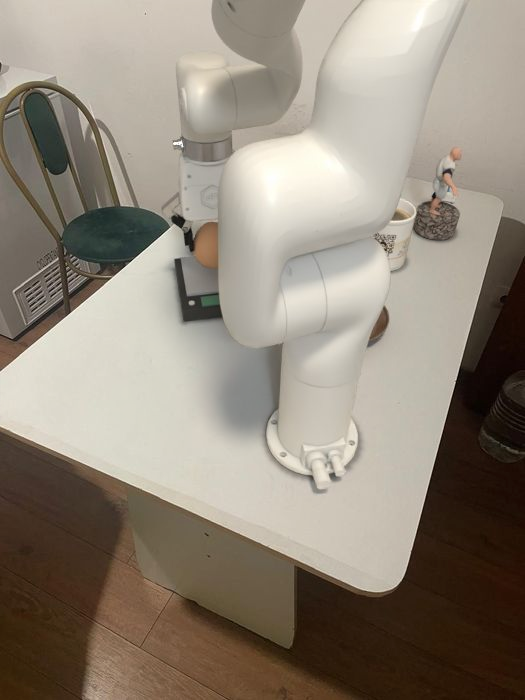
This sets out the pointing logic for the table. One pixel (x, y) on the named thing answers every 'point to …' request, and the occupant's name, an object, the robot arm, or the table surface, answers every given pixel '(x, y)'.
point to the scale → (197, 289)
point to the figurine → (440, 203)
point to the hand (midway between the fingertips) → (213, 245)
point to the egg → (207, 245)
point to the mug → (398, 234)
